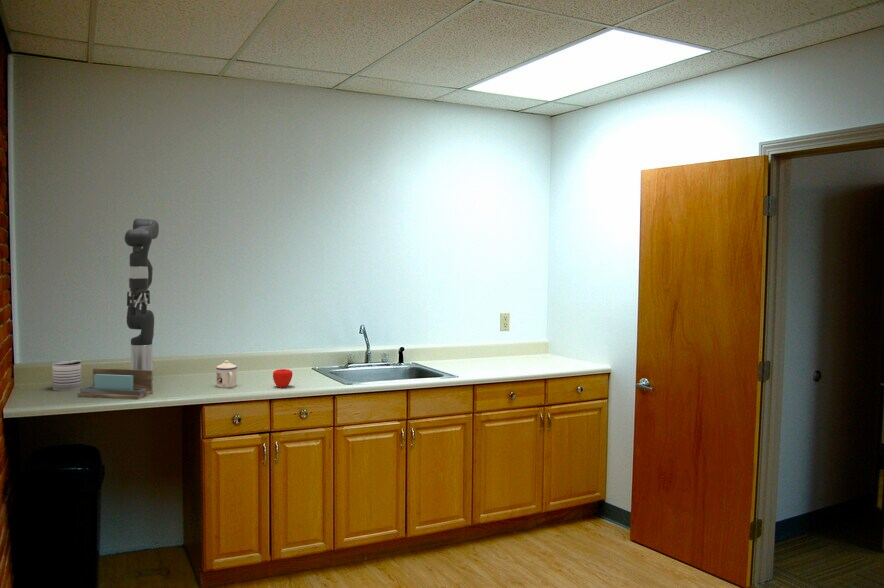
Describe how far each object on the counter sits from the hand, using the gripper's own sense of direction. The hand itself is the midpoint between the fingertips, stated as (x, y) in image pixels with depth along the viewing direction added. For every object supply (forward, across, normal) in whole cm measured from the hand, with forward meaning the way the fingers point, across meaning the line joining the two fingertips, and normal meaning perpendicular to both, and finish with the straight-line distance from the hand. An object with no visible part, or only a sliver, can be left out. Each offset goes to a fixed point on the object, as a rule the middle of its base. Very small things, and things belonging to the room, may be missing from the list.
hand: (138, 315), depth 300 cm
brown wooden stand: (+33, +7, -6) cm, 34 cm away
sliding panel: (+32, +9, -6) cm, 34 cm away
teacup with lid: (+33, -20, +31) cm, 50 cm away
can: (+33, -2, -34) cm, 48 cm away
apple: (+33, -25, +55) cm, 69 cm away
